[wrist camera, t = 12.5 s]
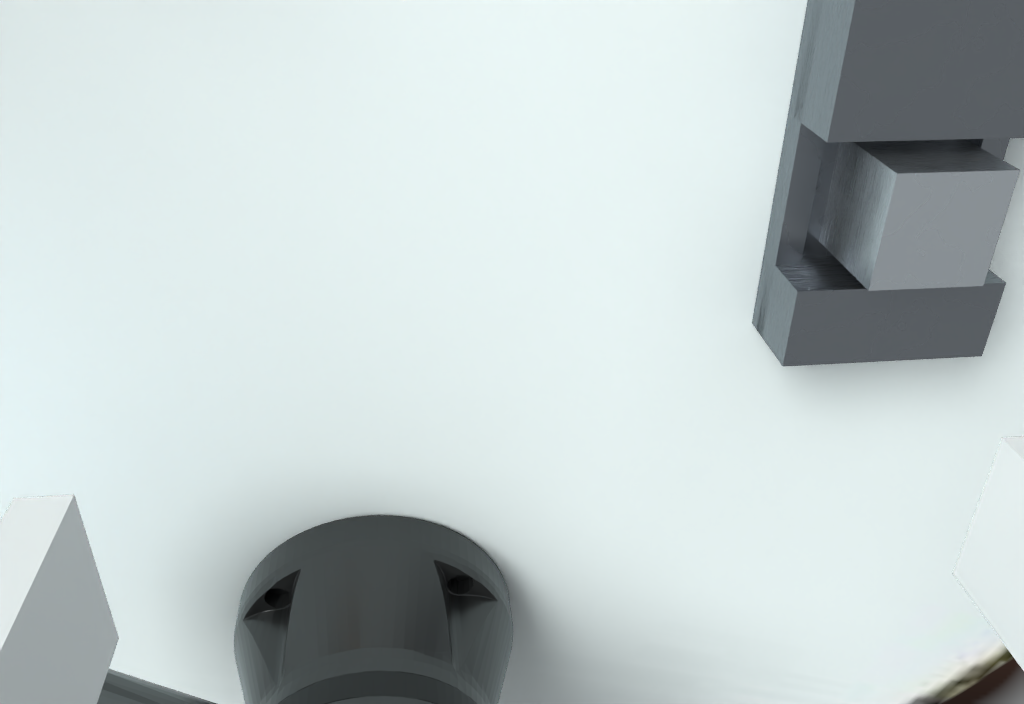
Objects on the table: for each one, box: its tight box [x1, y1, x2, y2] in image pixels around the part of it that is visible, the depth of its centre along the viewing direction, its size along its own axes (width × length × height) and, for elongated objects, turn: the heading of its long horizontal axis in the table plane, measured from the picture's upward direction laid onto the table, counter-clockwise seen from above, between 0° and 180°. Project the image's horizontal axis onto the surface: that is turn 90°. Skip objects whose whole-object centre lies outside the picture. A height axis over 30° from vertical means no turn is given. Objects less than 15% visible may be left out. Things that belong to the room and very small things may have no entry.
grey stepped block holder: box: [752, 0, 1024, 366], centre depth 35 cm, size 28×10×4 cm, turn 179°
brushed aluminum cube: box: [819, 139, 1020, 291], centre depth 38 cm, size 5×5×5 cm
